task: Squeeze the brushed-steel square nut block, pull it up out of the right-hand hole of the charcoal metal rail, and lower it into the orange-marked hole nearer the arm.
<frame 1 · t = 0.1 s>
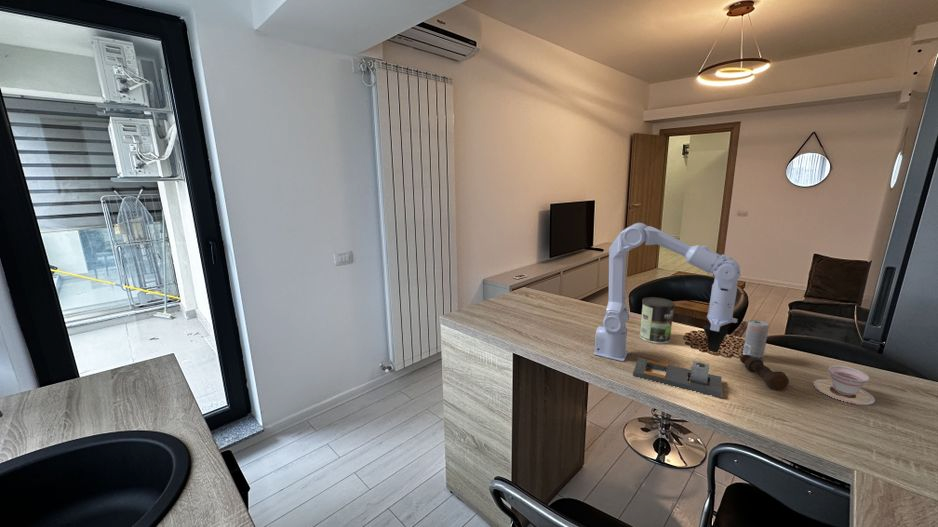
hand: (715, 346, 107), 10 cm above the table, tool pointing down, fingers open, 7 cm apart
dark brown lumpy rod: (759, 377, 110), on the table
rail: (676, 378, 109), on the table
nut block: (697, 384, 106), resting in rail
coffee can: (654, 338, 136), on the table
energy drink: (752, 357, 121), on the table
teacup: (842, 393, 101), on the table
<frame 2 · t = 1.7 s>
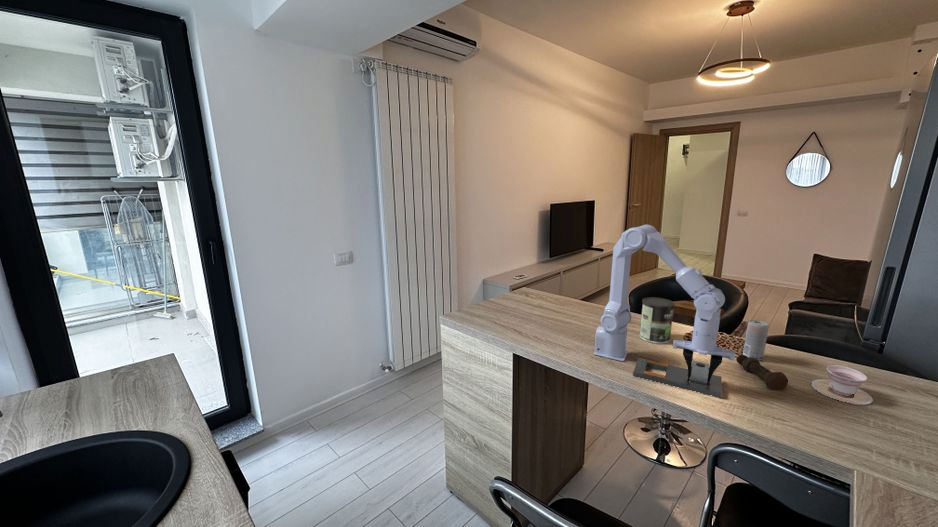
hand: (699, 376, 106), 2 cm above the table, tool pointing down, fingers closed on nut block, 4 cm apart
nut block: (697, 384, 106), resting in rail, touching gripper
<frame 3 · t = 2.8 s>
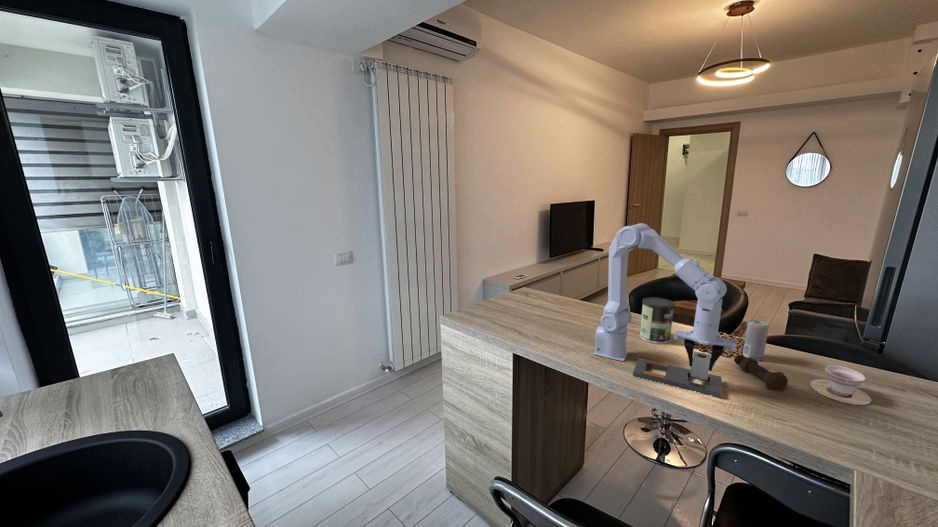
hand: (700, 367, 105), 5 cm above the table, tool pointing down, fingers closed on nut block, 4 cm apart
nut block: (699, 375, 106), point 3 cm above the table, touching gripper
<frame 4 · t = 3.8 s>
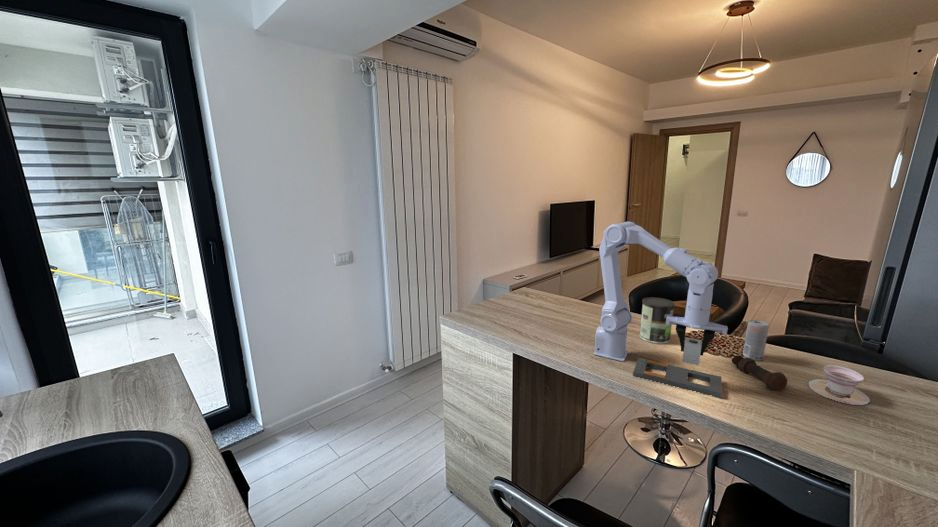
hand: (691, 352, 105), 9 cm above the table, tool pointing down, fingers closed on nut block, 4 cm apart
nut block: (690, 360, 106), point 7 cm above the table, touching gripper
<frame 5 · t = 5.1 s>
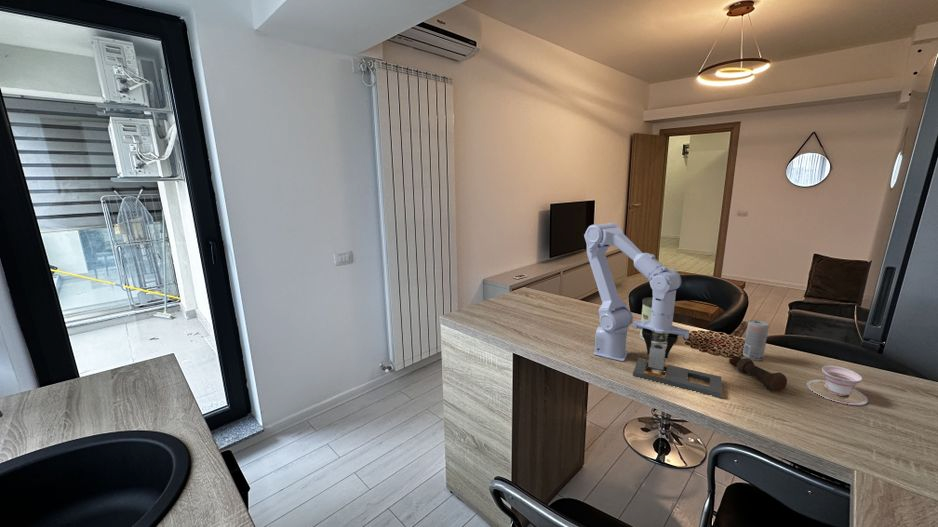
hand: (657, 354, 111), 6 cm above the table, tool pointing down, fingers closed on nut block, 4 cm apart
nut block: (656, 365, 111), point 3 cm above the table, touching gripper
when the fingers open (3 cm above the table, at t = 6.2 s): nut block stays where it is, resting in rail.
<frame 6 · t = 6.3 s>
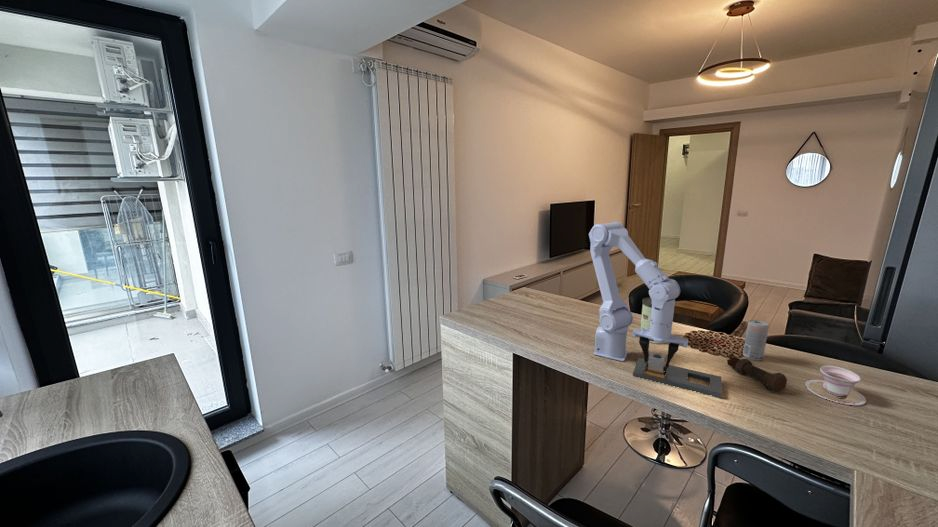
hand: (656, 363, 111), 3 cm above the table, tool pointing down, fingers open, 5 cm apart
nut block: (655, 374, 112), resting in rail
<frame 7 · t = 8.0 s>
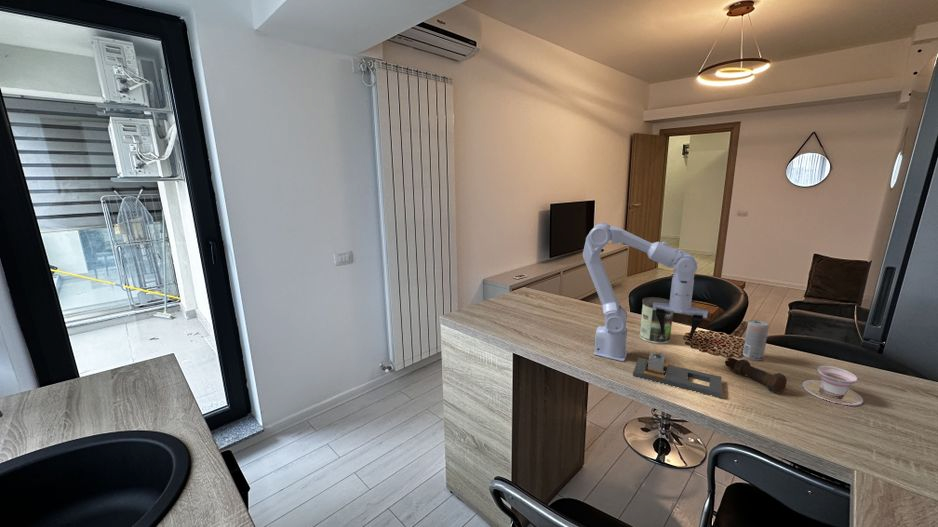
hand: (676, 335, 115), 10 cm above the table, tool pointing down, fingers open, 7 cm apart
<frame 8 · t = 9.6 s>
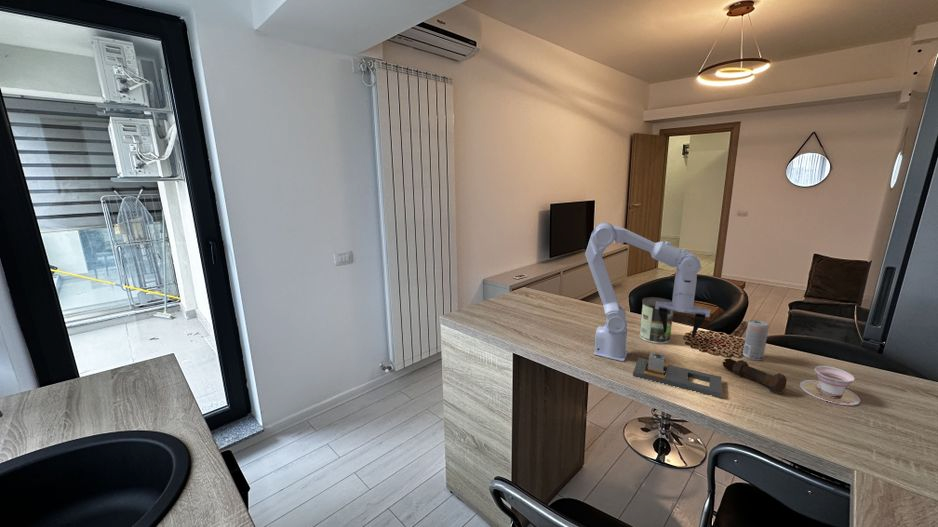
hand: (678, 333, 116), 10 cm above the table, tool pointing down, fingers open, 7 cm apart
at the end: nut block 0.4 cm from the target spot on the rail, point 0.0 cm above the rail's base; nut block tilted 0°; the gripper is holding nothing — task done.
